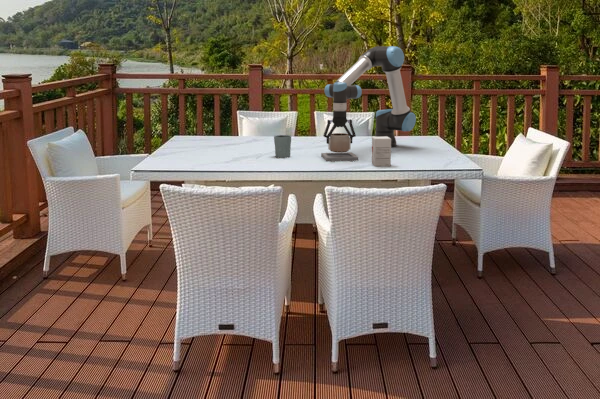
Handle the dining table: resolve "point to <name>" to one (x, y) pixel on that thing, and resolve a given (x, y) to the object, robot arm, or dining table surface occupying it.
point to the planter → (339, 142)
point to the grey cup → (282, 146)
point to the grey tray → (339, 156)
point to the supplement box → (381, 151)
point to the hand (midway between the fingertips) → (339, 149)
